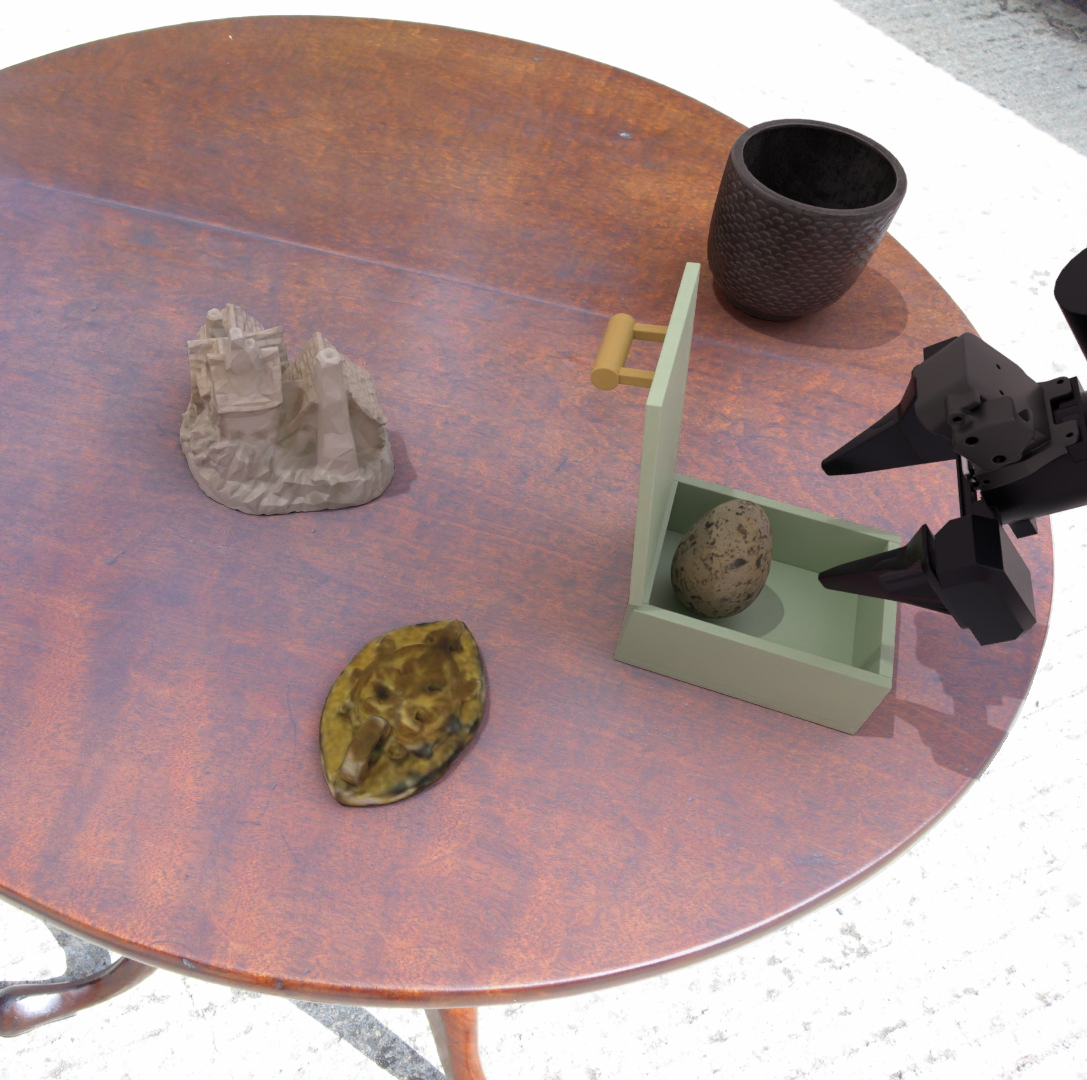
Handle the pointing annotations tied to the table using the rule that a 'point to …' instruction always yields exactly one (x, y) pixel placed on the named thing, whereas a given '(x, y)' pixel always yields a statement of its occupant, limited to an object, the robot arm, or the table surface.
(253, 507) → the ceramic cottage
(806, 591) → the chest
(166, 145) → the table surface
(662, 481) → the chest lid
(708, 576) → the decorative egg
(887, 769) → the table surface
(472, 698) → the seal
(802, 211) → the planter
